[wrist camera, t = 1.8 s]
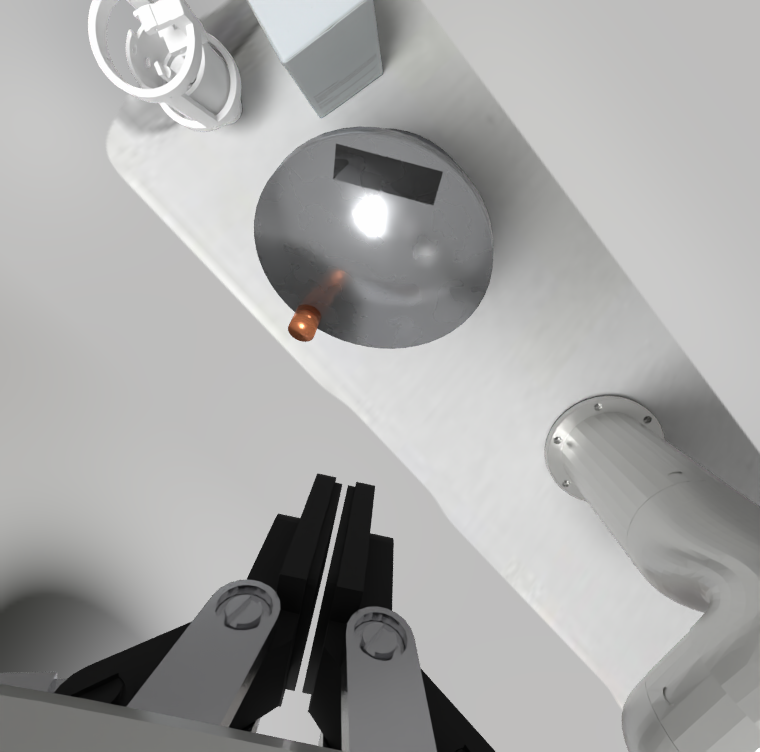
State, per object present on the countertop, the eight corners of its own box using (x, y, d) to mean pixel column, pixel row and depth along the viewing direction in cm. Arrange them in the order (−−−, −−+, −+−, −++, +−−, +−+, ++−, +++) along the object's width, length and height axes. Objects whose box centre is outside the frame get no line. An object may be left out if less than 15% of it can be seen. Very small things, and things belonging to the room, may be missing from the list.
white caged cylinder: (274, 131, 41) (204, 64, 27) (209, 158, 42) (109, 108, 28) (244, 51, 40) (153, -65, 25) (177, 82, 41) (53, -13, 26)
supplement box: (343, -7, 38) (314, -129, 26) (385, 75, 40) (376, -4, 28) (275, 45, 40) (218, -49, 27) (318, 122, 41) (282, 66, 29)
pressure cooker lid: (537, 168, 24) (540, 199, 21) (451, 355, 36) (447, 387, 34) (255, 93, 23) (229, 117, 21) (266, 307, 36) (251, 336, 34)
